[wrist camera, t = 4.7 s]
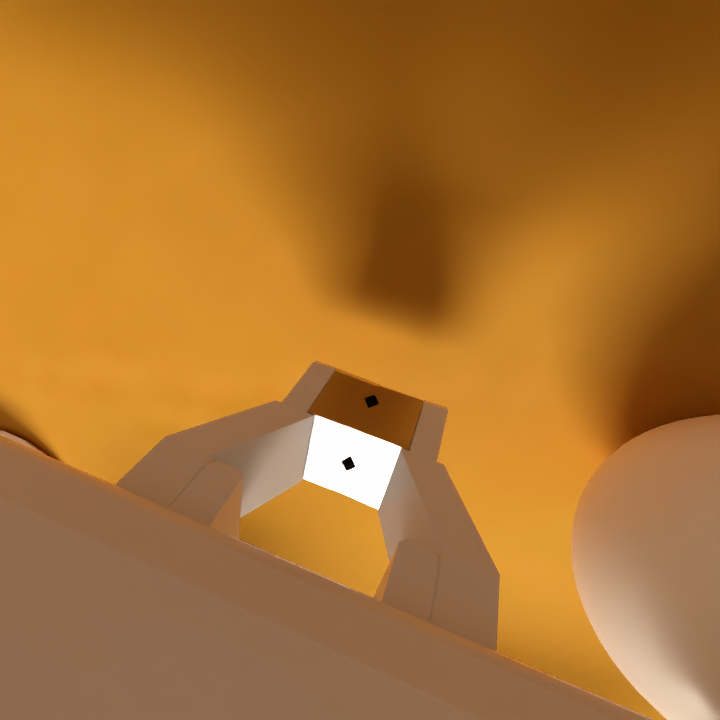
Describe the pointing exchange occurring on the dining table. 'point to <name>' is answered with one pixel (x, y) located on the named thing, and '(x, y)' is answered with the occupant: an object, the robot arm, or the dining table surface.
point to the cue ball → (657, 564)
